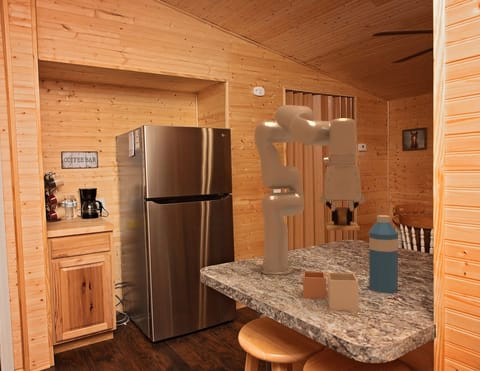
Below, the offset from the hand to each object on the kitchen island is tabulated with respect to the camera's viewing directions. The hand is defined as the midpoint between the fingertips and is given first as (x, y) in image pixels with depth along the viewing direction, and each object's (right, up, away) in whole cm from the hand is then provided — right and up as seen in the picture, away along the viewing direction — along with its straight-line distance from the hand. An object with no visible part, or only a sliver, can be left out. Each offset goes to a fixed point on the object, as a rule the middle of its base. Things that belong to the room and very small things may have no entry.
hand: (341, 223), depth 108 cm
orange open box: (-6, -25, +10) cm, 27 cm away
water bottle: (+18, -24, +15) cm, 34 cm away
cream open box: (0, -25, +1) cm, 25 cm away
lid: (0, -1, 0) cm, 1 cm away
